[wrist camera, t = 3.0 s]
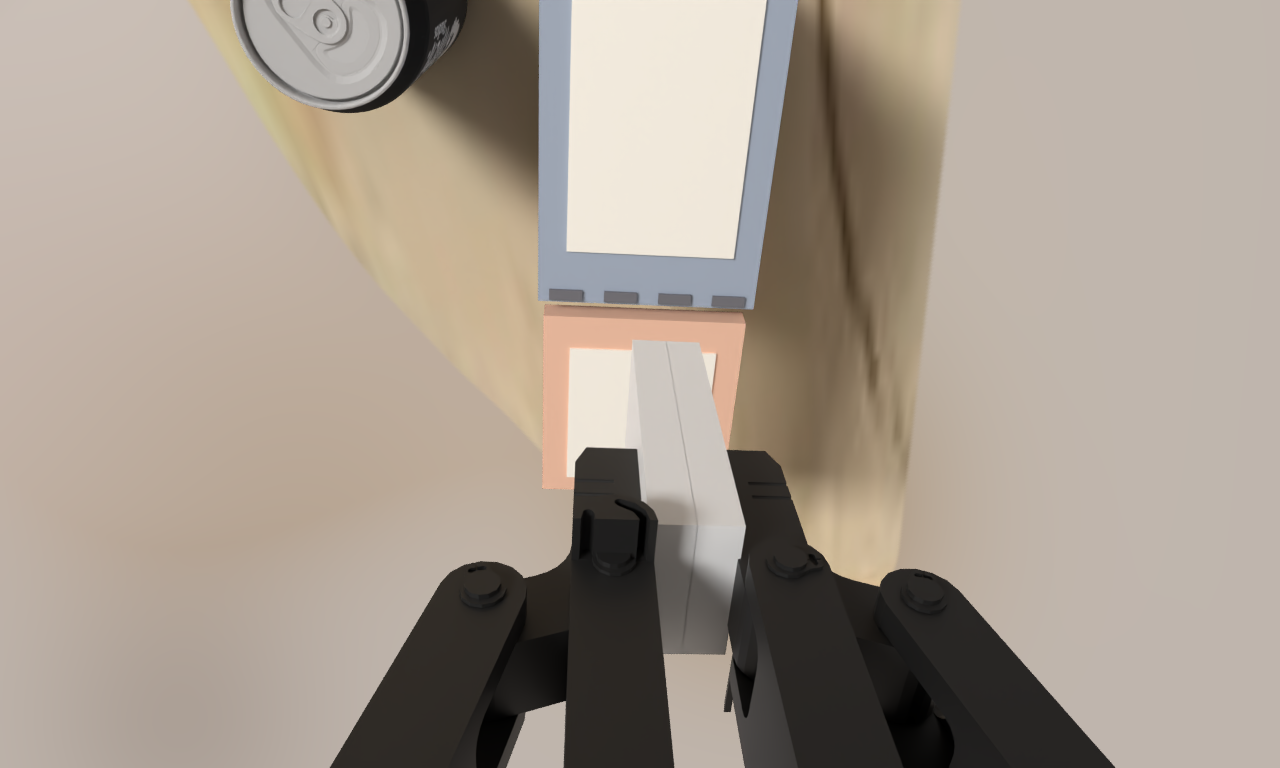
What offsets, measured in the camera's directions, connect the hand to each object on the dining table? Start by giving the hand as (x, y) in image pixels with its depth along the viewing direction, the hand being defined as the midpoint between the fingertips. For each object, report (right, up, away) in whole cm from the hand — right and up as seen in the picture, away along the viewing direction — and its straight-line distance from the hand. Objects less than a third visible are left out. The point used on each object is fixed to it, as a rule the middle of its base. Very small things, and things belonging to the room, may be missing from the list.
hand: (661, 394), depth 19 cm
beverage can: (-12, +18, +19) cm, 29 cm away
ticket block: (0, +15, +21) cm, 26 cm away
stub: (-1, 0, +15) cm, 15 cm away
